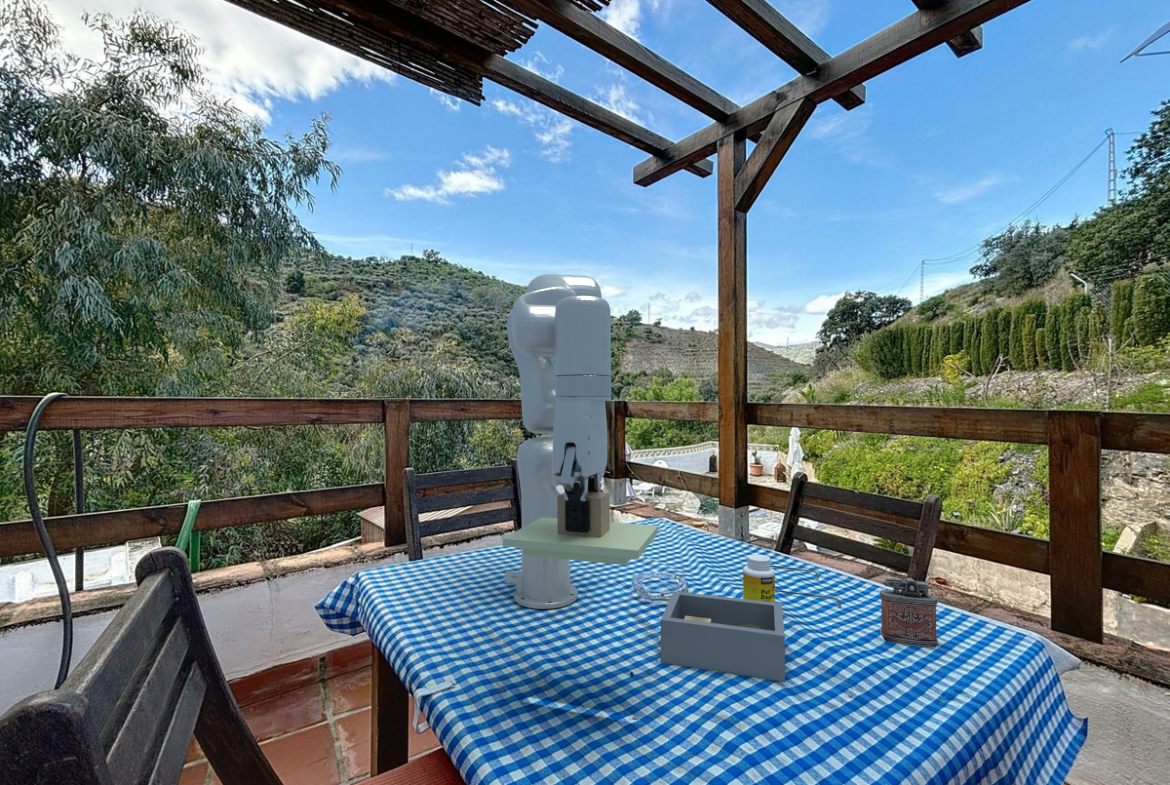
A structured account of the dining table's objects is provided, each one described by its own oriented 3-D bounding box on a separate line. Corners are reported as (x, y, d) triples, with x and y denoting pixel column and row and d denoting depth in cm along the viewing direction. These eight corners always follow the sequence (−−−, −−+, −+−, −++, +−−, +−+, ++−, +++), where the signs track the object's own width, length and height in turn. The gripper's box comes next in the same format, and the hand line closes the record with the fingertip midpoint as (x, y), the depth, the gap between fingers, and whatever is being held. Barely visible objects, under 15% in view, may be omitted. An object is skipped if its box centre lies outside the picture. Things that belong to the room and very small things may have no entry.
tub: (660, 667, 77) (660, 619, 77) (673, 633, 89) (673, 591, 89) (785, 687, 72) (784, 636, 72) (782, 648, 83) (781, 603, 83)
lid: (502, 558, 68) (502, 499, 68) (541, 534, 79) (541, 484, 80) (638, 571, 62) (637, 507, 62) (658, 543, 74) (657, 489, 74)
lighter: (934, 640, 86) (933, 578, 86) (940, 649, 83) (940, 585, 83) (878, 633, 89) (877, 573, 89) (882, 641, 85) (882, 579, 86)
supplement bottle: (761, 622, 93) (761, 563, 93) (736, 611, 98) (736, 556, 98) (781, 615, 96) (781, 558, 96) (756, 605, 101) (756, 551, 101)
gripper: (577, 391, 80) (577, 512, 80) (531, 389, 64) (531, 541, 64) (625, 390, 78) (626, 516, 77) (590, 388, 62) (591, 546, 62)
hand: (583, 525), depth 71 cm, fingers closed on lid, 4 cm apart
